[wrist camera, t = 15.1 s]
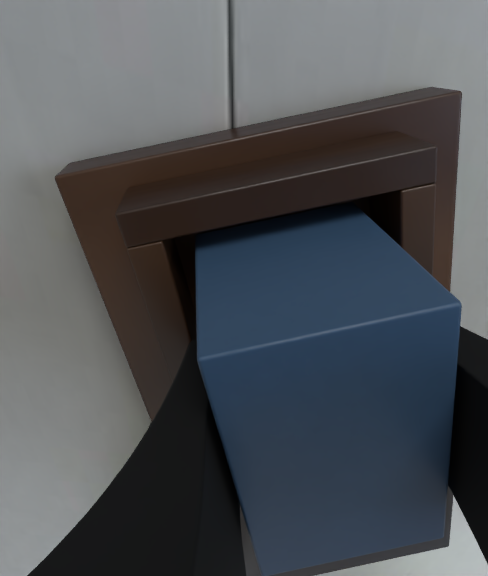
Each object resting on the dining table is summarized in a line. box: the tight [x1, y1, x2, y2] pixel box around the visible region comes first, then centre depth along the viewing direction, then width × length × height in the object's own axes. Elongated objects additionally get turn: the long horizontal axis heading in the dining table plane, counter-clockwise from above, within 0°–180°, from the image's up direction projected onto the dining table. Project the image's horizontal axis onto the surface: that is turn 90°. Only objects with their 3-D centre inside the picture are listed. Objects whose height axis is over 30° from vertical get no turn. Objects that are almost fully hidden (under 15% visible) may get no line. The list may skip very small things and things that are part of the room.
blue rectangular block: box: [195, 202, 462, 576], centre depth 10 cm, size 6×4×5 cm, turn 10°
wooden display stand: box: [55, 87, 462, 576], centre depth 14 cm, size 16×10×4 cm, turn 10°
